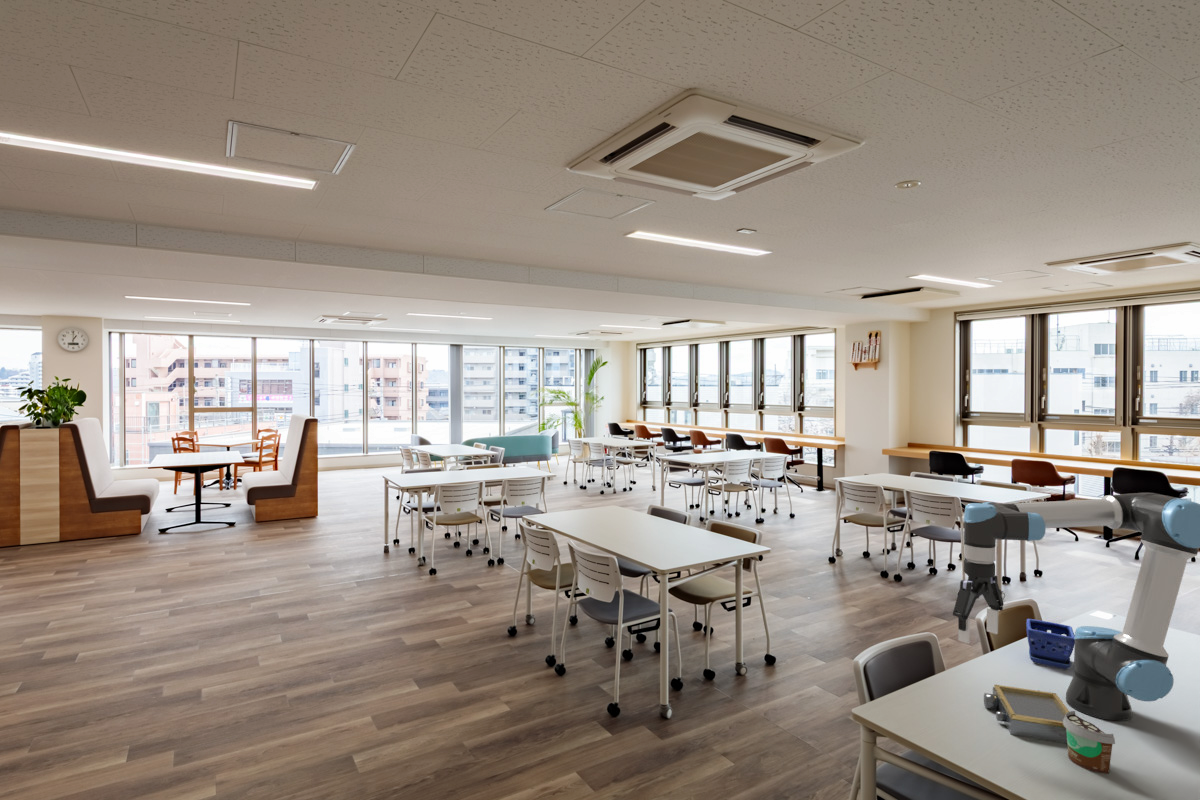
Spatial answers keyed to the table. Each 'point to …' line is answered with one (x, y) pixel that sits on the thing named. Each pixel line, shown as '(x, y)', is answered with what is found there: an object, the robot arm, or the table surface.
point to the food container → (1088, 744)
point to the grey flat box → (1029, 712)
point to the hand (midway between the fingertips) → (978, 637)
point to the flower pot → (1050, 643)
